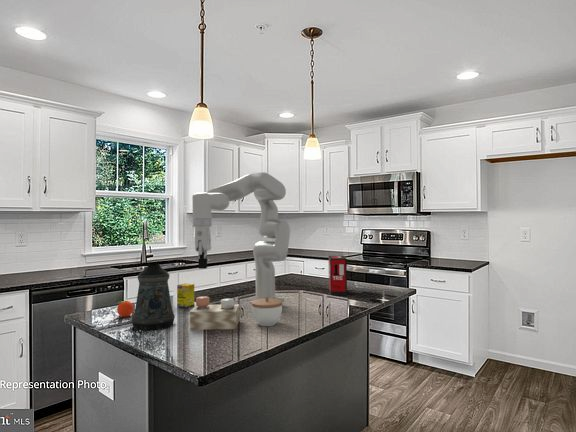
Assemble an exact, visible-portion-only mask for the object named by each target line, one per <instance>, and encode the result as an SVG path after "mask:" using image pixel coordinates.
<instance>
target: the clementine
mask: <svg viewBox="0 0 576 432" xmlns="http://www.w3.org/2000/svg"><path fill="white" fill-rule="evenodd" d="M117 304H118V305H117ZM116 305H117V307H116V311H117V314H118V315H119V316H121V317H123V318H126V317H127V318H128V317H129V316H131V315H132V314H134V311H135V308H134V304H133V303H132V302H131V301H130V300H123V301H119V302H117V303H116Z"/></svg>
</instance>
